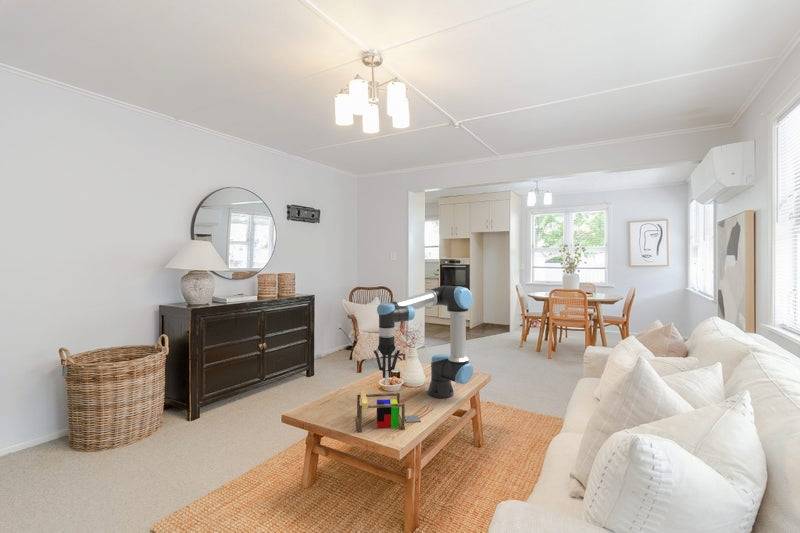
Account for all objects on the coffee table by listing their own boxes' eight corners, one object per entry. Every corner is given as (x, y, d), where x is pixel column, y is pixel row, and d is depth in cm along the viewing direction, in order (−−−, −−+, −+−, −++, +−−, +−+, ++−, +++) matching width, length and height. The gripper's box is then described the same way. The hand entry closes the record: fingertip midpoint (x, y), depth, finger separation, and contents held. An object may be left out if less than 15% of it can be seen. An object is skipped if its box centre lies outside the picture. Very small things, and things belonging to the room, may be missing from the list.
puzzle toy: (376, 419, 190) (376, 399, 189) (396, 419, 190) (396, 399, 190) (376, 428, 180) (377, 407, 179) (398, 428, 180) (398, 407, 180)
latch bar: (364, 395, 192) (364, 390, 192) (367, 409, 174) (367, 403, 174) (359, 395, 191) (359, 390, 191) (362, 409, 174) (362, 403, 174)
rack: (399, 416, 194) (400, 392, 193) (405, 429, 179) (405, 404, 178) (356, 418, 190) (356, 394, 190) (357, 432, 175) (358, 406, 175)
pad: (417, 416, 194) (417, 415, 194) (420, 422, 187) (420, 421, 187) (403, 416, 193) (404, 415, 193) (406, 422, 186) (406, 421, 186)
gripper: (398, 333, 189) (398, 380, 189) (372, 334, 187) (372, 382, 187) (401, 337, 181) (401, 386, 182) (373, 337, 179) (373, 387, 180)
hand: (386, 384), depth 185 cm, fingers closed
